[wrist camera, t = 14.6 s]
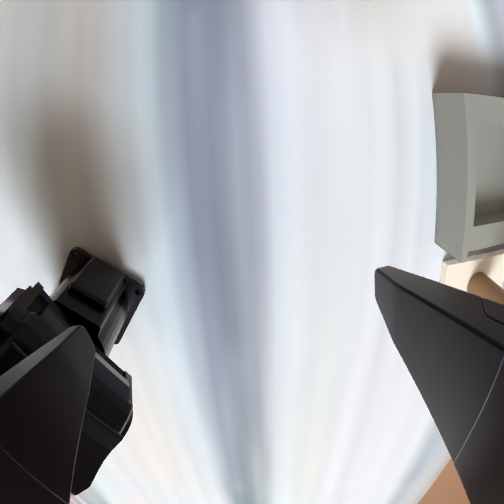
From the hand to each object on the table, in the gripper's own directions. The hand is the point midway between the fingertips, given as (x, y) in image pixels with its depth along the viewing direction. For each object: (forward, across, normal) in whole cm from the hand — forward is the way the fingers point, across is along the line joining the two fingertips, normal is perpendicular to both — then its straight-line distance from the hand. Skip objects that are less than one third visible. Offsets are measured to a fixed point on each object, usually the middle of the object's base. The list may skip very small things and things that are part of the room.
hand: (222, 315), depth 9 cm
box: (+13, -20, +1) cm, 24 cm away
